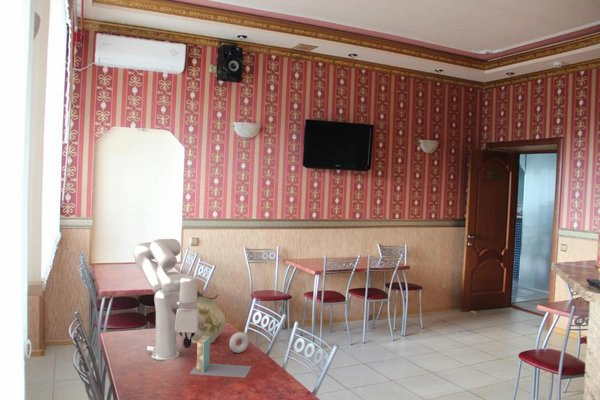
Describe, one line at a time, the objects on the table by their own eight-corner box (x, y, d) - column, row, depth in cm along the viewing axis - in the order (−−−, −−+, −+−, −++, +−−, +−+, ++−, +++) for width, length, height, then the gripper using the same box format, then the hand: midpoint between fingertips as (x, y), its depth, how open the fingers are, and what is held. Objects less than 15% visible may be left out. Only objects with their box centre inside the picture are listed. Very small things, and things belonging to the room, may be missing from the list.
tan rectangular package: (196, 372, 219) (197, 341, 219) (202, 364, 228) (203, 335, 228) (203, 372, 219) (204, 342, 218) (209, 365, 228) (210, 336, 227)
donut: (230, 355, 244) (231, 334, 244) (227, 353, 247) (228, 332, 247) (249, 352, 249) (250, 331, 249) (246, 350, 252) (247, 330, 252)
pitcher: (213, 349, 252) (214, 298, 252) (170, 344, 259) (171, 294, 259) (231, 337, 274) (233, 290, 274) (191, 333, 280) (193, 287, 280)
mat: (188, 374, 217) (189, 373, 217) (198, 363, 231) (198, 362, 231) (245, 378, 214) (245, 377, 214) (251, 367, 228) (251, 366, 228)
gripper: (168, 306, 220) (167, 349, 220) (202, 307, 219) (201, 350, 219) (174, 302, 228) (173, 344, 228) (207, 304, 226) (206, 345, 226)
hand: (187, 347), depth 223 cm, fingers closed
